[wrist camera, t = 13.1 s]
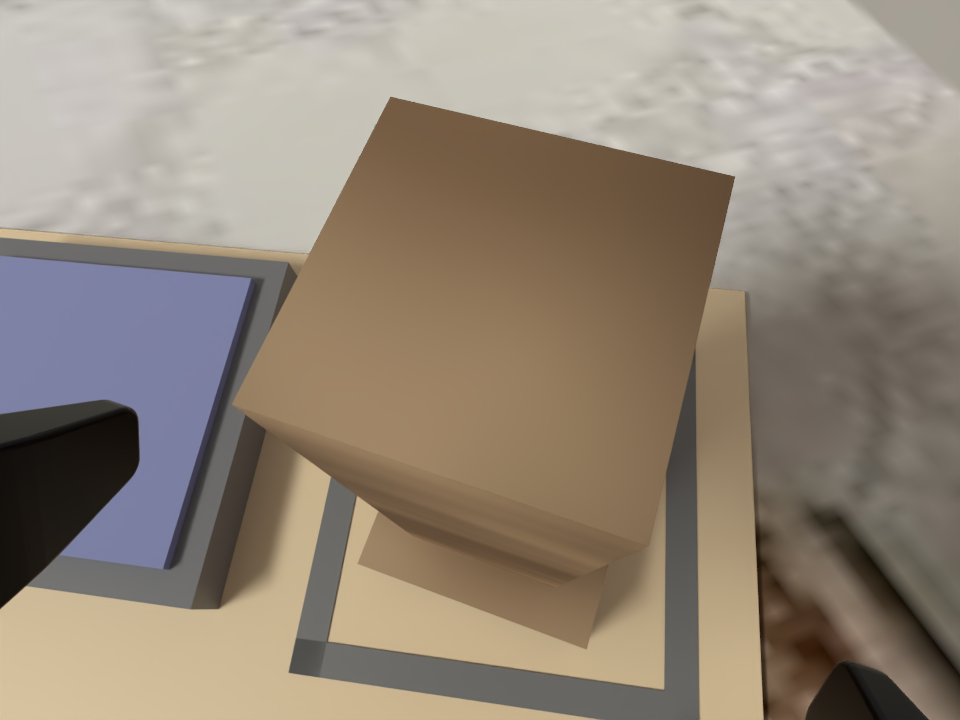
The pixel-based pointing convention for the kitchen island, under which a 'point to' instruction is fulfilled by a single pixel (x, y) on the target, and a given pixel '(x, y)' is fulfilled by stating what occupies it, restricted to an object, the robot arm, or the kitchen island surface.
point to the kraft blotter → (422, 600)
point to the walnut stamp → (496, 355)
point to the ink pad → (146, 400)
